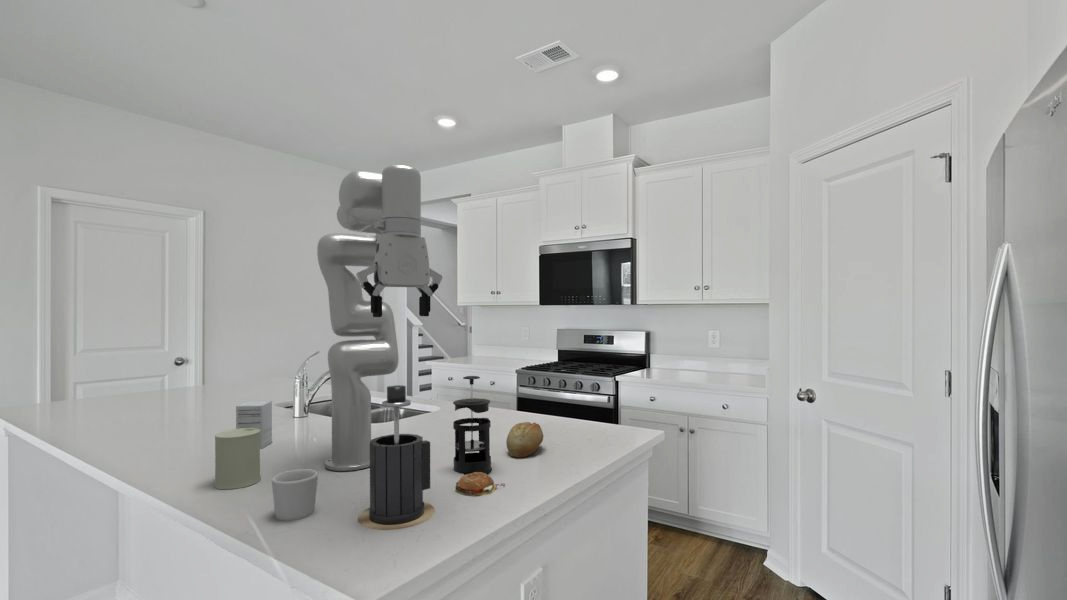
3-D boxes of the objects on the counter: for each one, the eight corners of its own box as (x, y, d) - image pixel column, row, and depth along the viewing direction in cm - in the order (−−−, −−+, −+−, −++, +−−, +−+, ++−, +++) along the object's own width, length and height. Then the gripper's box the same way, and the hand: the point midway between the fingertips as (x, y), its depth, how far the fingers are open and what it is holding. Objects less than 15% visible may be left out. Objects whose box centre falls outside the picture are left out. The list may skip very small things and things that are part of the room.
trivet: (346, 516, 96) (346, 512, 96) (415, 498, 104) (415, 494, 104) (374, 542, 85) (374, 537, 85) (448, 519, 93) (448, 515, 93)
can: (269, 478, 119) (269, 427, 119) (235, 491, 110) (235, 436, 110) (240, 474, 122) (240, 424, 122) (204, 487, 113) (204, 433, 113)
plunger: (375, 500, 95) (374, 386, 96) (405, 492, 99) (404, 383, 99) (387, 509, 90) (387, 390, 91) (418, 501, 94) (418, 386, 95)
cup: (287, 505, 102) (287, 465, 102) (328, 503, 103) (328, 463, 103) (263, 527, 91) (263, 483, 91) (309, 525, 92) (309, 481, 92)
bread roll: (547, 445, 145) (547, 417, 145) (537, 460, 131) (536, 429, 131) (515, 444, 147) (515, 416, 148) (501, 458, 133) (501, 428, 133)
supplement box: (246, 443, 151) (246, 401, 152) (272, 442, 152) (272, 400, 152) (235, 450, 144) (235, 405, 144) (262, 449, 145) (262, 404, 145)
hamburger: (508, 505, 101) (508, 475, 101) (441, 503, 103) (441, 473, 103) (519, 482, 115) (519, 456, 115) (459, 480, 117) (459, 454, 117)
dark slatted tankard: (361, 512, 95) (360, 439, 96) (417, 498, 103) (417, 429, 103) (381, 530, 88) (381, 450, 88) (440, 513, 95) (440, 439, 95)
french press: (476, 480, 115) (475, 379, 116) (443, 475, 119) (442, 377, 120) (502, 466, 126) (501, 374, 126) (470, 461, 130) (470, 372, 130)
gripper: (364, 223, 91) (364, 317, 91) (449, 231, 102) (449, 316, 102) (350, 228, 97) (350, 317, 97) (432, 235, 108) (433, 315, 108)
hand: (401, 316), depth 99 cm, fingers open, 9 cm apart
